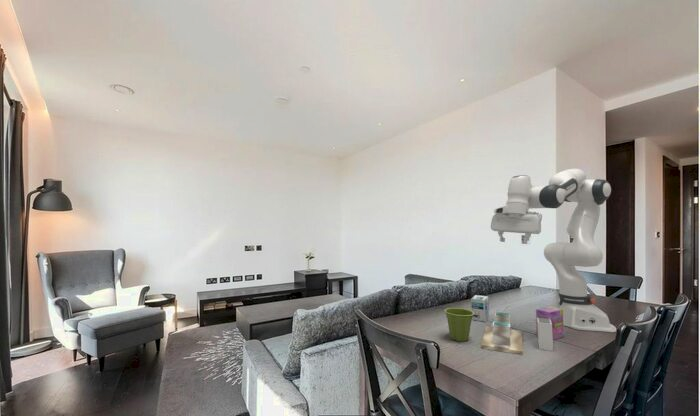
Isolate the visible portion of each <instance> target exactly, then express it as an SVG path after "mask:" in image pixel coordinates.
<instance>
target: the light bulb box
mask: <svg viewBox="0 0 700 416" xmlns="http://www.w3.org/2000/svg"><path fill="white" fill-rule="evenodd" d="M470 299H471V311H473V312H474V315H473V317H472V320H471V321H478V322H484V323H485V322H487V321H488V319H489V318H490V302H489V296H486V295H479V294H475V295H474V296H472V297H471V298H470Z"/></svg>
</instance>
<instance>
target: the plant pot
mask: <svg viewBox="0 0 700 416" xmlns="http://www.w3.org/2000/svg"><path fill="white" fill-rule="evenodd" d="M444 313H445V316H446V319H447V324H448V325H447V326H448V330H449V331H448V332H449V338H450V339H451V340H453V341H454V340H455V341H457V342H467V341H469V337H470V331H471V325H472V321H473V320H472V317H473V315H474V312H473V311H472V310H470V309H466V308H460V307H459V308H458V307H449V308H445V309H444Z"/></svg>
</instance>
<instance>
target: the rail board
mask: <svg viewBox="0 0 700 416" xmlns="http://www.w3.org/2000/svg"><path fill="white" fill-rule="evenodd" d="M511 321H512V320H511V314H510V313H507V312H498V311H497V312H495V313H494V321H492V326H485V330H484V334H483V338H482V341H481V345H480V347H481V349H484V350H491V351H496V352H497V351H498V352H504V353H508V354H509V353H510V354H514V355H515V354H516V355H520V356H523V352H524V350H523V337H522V330H517V329H511V327H512V326H511V325H512V323H511Z"/></svg>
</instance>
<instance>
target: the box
mask: <svg viewBox="0 0 700 416" xmlns="http://www.w3.org/2000/svg"><path fill="white" fill-rule="evenodd" d="M535 316H536V317H535V318H536V319H535V321H536V322H535V323H536V325H537V318H545V319H550V320H551V323H552V336H553V341H554V340H558V339H561V338H564V337H565V328H564V327H565V326H564V323H563V309H561V308H559V307H555V306H551V305H550V306H545V307H541V308H540V307H539V308H536V309H535ZM536 337H537V338H538V330H537V329H536Z"/></svg>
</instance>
